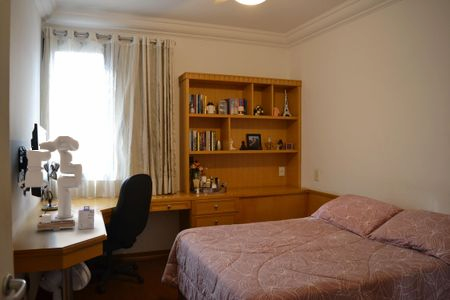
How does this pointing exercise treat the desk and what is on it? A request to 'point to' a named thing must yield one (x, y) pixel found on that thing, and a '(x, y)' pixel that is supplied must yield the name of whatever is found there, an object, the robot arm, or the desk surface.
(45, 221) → the rider
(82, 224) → the ink cartridge box
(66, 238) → the desk surface
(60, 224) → the beam
